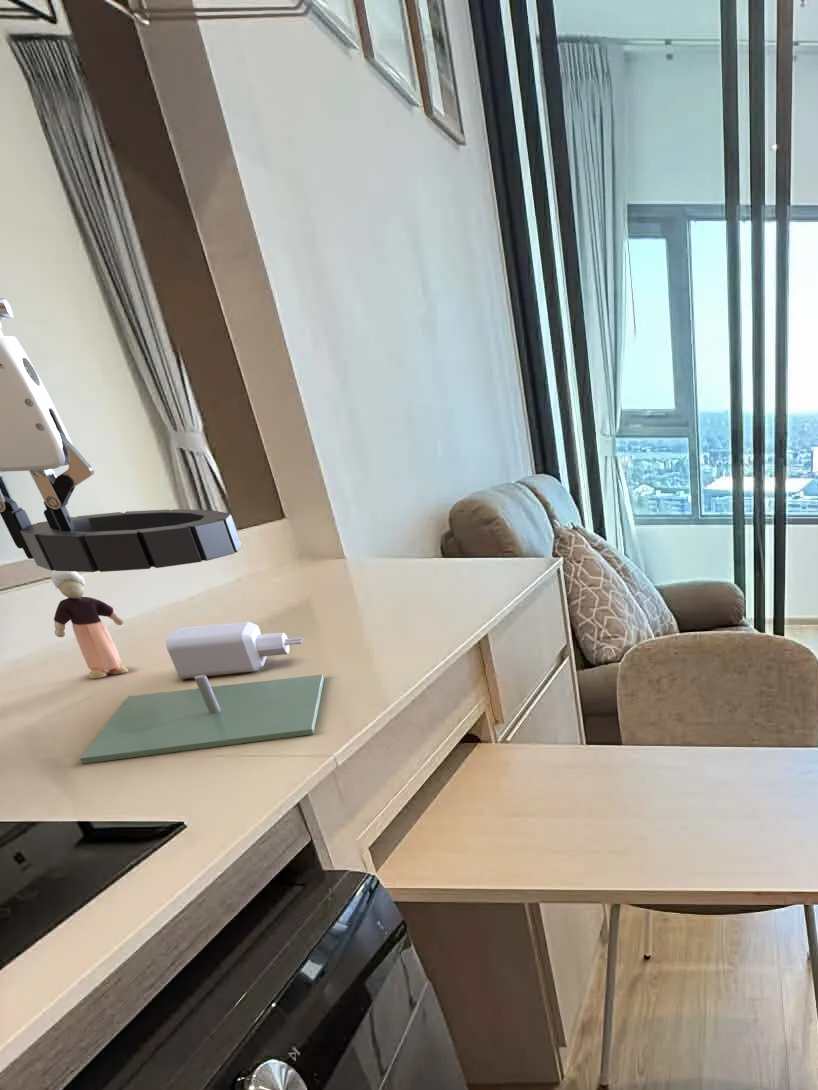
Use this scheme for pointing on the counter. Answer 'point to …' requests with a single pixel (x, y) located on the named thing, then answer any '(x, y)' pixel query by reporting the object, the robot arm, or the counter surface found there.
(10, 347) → the robot arm
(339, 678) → the counter surface
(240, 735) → the peg board
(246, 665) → the charger
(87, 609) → the grandmother figurine
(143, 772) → the counter surface
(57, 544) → the segmented bracelet
